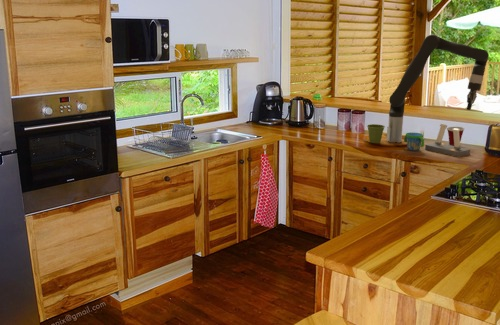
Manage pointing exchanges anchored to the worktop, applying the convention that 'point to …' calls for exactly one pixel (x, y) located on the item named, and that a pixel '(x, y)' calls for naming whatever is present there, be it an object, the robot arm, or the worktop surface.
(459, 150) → the switch base
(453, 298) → the worktop surface
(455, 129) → the outer lever
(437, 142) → the inner lever
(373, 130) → the plant pot
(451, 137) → the plastic cup
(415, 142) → the snack cup
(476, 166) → the worktop surface
